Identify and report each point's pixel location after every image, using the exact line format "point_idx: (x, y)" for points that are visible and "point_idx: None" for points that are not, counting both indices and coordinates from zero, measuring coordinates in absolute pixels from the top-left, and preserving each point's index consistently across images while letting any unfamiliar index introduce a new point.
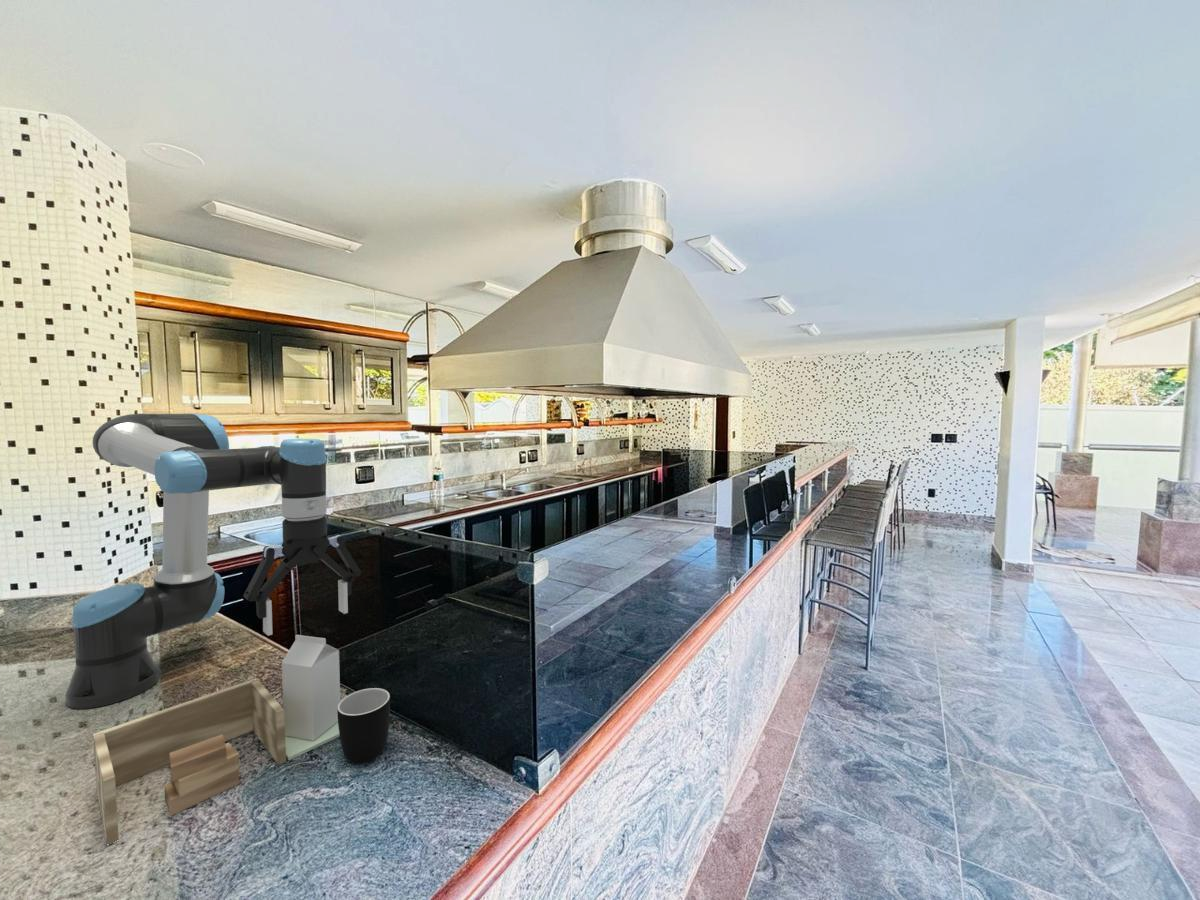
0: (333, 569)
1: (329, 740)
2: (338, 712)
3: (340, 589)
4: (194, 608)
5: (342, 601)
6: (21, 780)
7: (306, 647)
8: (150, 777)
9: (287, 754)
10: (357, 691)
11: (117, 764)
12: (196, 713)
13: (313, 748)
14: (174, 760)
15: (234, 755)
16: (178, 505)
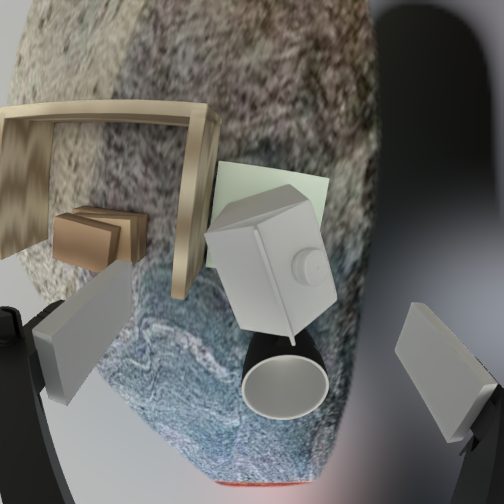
0: (459, 500)
1: None
2: (242, 380)
3: (448, 383)
4: None
5: (417, 367)
6: (27, 32)
7: (258, 284)
8: (84, 135)
9: (207, 258)
10: (300, 358)
11: (45, 120)
12: (106, 115)
13: None
14: (56, 244)
15: None
16: None
